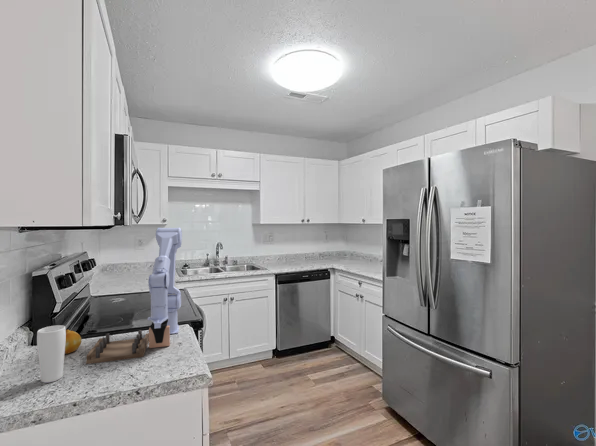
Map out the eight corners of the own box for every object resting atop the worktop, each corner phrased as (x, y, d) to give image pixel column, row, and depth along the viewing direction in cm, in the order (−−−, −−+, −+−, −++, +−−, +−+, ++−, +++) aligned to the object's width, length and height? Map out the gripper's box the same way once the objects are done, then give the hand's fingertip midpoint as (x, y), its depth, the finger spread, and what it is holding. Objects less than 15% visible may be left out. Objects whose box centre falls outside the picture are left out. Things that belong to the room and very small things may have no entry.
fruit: (43, 350, 110) (56, 329, 111) (58, 343, 118) (71, 324, 119) (64, 362, 110) (77, 341, 111) (78, 354, 118) (90, 334, 119)
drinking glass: (50, 386, 90) (49, 333, 90) (31, 383, 92) (30, 332, 92) (71, 374, 97) (71, 325, 97) (53, 372, 98) (53, 324, 98)
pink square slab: (149, 346, 118) (149, 327, 118) (169, 343, 121) (169, 325, 120) (149, 348, 116) (148, 329, 116) (169, 345, 119) (169, 327, 119)
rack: (99, 345, 119) (99, 333, 119) (149, 340, 125) (149, 328, 125) (86, 364, 104) (85, 350, 104) (143, 356, 109) (143, 343, 109)
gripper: (150, 301, 124) (150, 335, 124) (144, 311, 110) (145, 350, 110) (169, 299, 126) (169, 333, 126) (166, 309, 112) (167, 347, 113)
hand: (159, 341), depth 118 cm, fingers closed on pink square slab, 2 cm apart
